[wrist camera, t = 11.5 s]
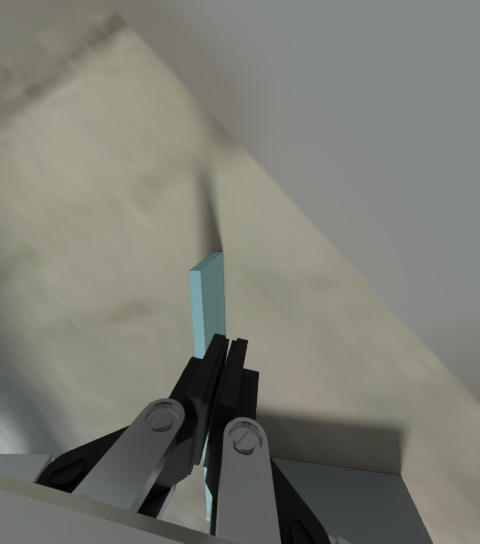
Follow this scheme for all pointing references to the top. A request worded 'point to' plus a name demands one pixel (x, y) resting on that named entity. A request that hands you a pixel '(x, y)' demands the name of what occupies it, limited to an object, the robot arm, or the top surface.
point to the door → (207, 314)
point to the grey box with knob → (357, 503)
